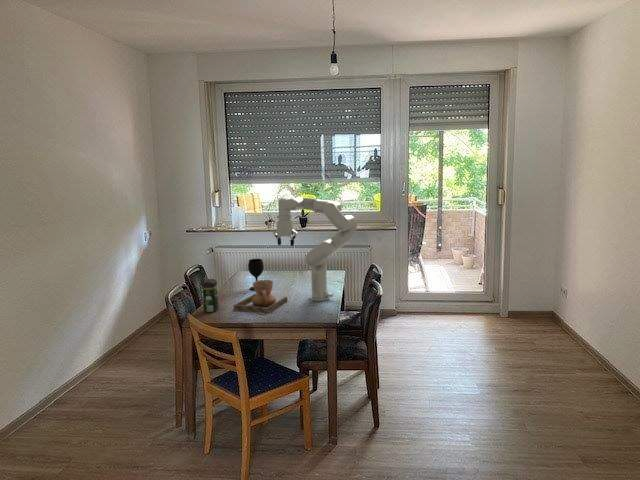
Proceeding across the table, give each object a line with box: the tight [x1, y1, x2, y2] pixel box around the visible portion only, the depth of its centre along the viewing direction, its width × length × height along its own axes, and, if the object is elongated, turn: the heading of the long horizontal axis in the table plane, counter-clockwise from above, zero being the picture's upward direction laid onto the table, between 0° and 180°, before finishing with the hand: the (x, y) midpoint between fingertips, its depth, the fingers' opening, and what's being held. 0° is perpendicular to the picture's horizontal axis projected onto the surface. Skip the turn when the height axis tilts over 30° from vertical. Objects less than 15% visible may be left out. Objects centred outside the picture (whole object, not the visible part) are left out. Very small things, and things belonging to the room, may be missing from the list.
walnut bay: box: [233, 293, 288, 314], centre depth 300 cm, size 23×25×3 cm
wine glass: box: [247, 258, 265, 291], centre depth 339 cm, size 10×10×20 cm
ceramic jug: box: [251, 279, 277, 307], centre depth 301 cm, size 18×14×14 cm
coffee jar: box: [201, 278, 220, 313], centre depth 292 cm, size 10×8×19 cm
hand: (285, 245), depth 316 cm, fingers open, 8 cm apart
